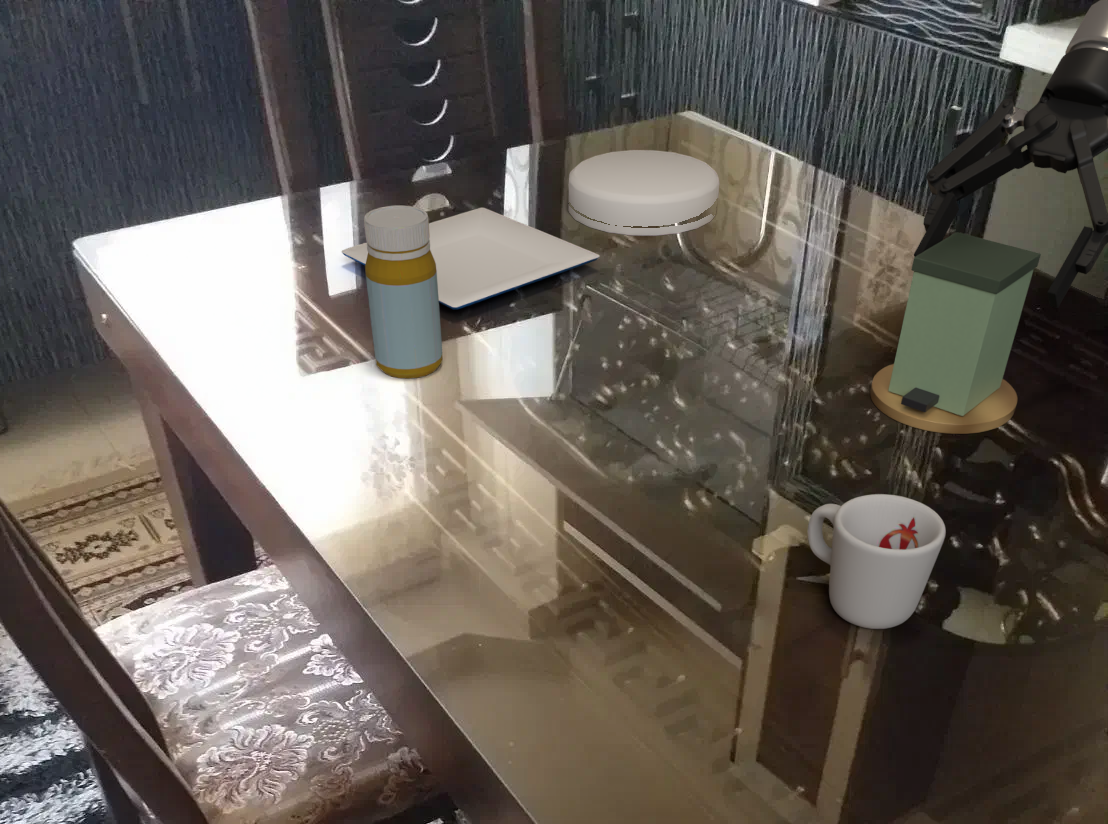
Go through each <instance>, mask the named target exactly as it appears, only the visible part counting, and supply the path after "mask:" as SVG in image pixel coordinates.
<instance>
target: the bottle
mask: <svg viewBox="0 0 1108 824" xmlns="http://www.w3.org/2000/svg"><path fill="white" fill-rule="evenodd" d="M363 223H364V224H363V225H364V234H365V241H366V242H367V251H368V255H367V260H366V264H365V265H364V269H365V273H364V274H365V282H366V290H367V291H366V292H367V300H368V307H369V316H370V327H371V334H372V343H373V351H374V358H375V365H376V366H377V368H378V369H380V370H381V371H382V372H383V373H384V374H385V375H387V376H389V377H393V378H396V379H409V380H410V379H417V378H422V377H426V376H429V375H431V374H433V373H434V372H435V371H436V370H437V369H438V368H439V366H440V365H441V364H442V362H443V340H442V327H441V313H440V303H439V298H438V283H437V270H436V263H435V260H434V258H433V255H432V253H431V251H430V240H429V238H430V233H429V223H430V220H429V216H428V213H427V211H426V210H424V209H422V208H420V207H417V206H412V205H387V206H383V207H382V206H381V207H377V208H374V209H372V210H370V211H368V212H367V213H366V214H365V215H364V218H363Z"/></svg>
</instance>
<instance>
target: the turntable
mask: <svg viewBox="0 0 1108 824" xmlns="http://www.w3.org/2000/svg"><path fill="white" fill-rule="evenodd" d="M893 366H894V363H892V364H889V365H887V366H885V367H882V369H879V371H877V372H876V374H874V376H873V378H872V379H871V380H872V381H871V385H870V389H869V396H870V400H871V401H872V403H873V405H874V406H875V407H876V408H877V409H878V410H879V411H880V412H881V413H882V414H884V415H885V416H887V417H888V418H890V419H892V420H894V421H896V422H898V423H901V424H903V425H905V426H909V427H912V428H915V429H918V430H923V431H926V432H927V431H928V432H933V433H941V434H950V435H951V434H952V435H966V434H977V433H983V432H988V431H991V430H995V429H997V428H999V427H1002V426H1003V425H1006V424H1007V423H1008V422H1009V421H1010V420H1011V419H1012V417H1013V416H1014V414H1015V412H1016V408H1017V404H1018V395H1017V392H1016V390H1015V389H1014V388H1013V386H1012V385H1011V384H1010V383H1009V382H1008V381H1007V380H1006V379H1004V378H1002V382H1001V385H1000V388H998V389H997V390H996V391H994V392H993V393H992V394H991V395H989V396H988V397H987V398H985V399H984V400H983V401H982V402H980V403H979V404H978V405H977V406H975V407H974V408H973V409H971V410H970V411H969V412H968V413H966V414H965V415H964V416H960V415H957V414H954V413H951V412H949V411H946V410H943V409H940V408H937V407H934V406H933V407H932V408H930V409H929V410H928V411H926V412H922V411H920V410H917V409H914V408H911V407H908V406H905V405H902V404H901V401H902V397H903V396H902V395H899V394H896V393H893V392H890V391H888V390H889V385H890V380H891V376H892V371H893Z"/></svg>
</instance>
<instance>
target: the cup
mask: <svg viewBox="0 0 1108 824" xmlns="http://www.w3.org/2000/svg"><path fill="white" fill-rule="evenodd" d="M825 519H827V520H828V521H829V522H830V523H831V525H832V526H833V530H832V543H831V547H830V546H829V545H828V544H827V543H826V541H825V539H824V535H823V526H824V525H823V524H824V521H825ZM946 533H947V532H946V525H945V523H944V520H943V519H942V517H941V516H940V515H939V514H938V512H936V511H935V510H934V509H932V508H931V507H930V506H928V505H926V504H924V503H922V502H920V501H917V500H915V499H912V498H909V497H905V496H901V495H894V494H886V493H885V494H884V493H875V494H874V493H873V494H865V495H861V496H857V497H854V498H851V499H849V500H848V501H846V502H844V503H843V504H842V505H840V504H835V503H826V504H823V505H821V506H818V507H817V508H816V509H815V510H814V511H813V512H812V513H811V515H810V517H809V520H808V524H807V541H808V545H809V548H810V550H811V552H812V553H813V554H814V555H815V556H816V557H817V558H818V559H819V560H821V561H823V562H824V563H825V564H827V565H829V566H830V568H829V580H828V581H829V583H828V595H829V596H828V597H829V601H830V604H831V607H832V608H833V610H834V612H836V615H838V616H839V617H840V618H841V619H843V620H844V621H846V622H848V623H850V624H852V625H854V626H857V627H860V628H863V629H864V628H865V629H869V630H870V629H871V630H886V629H891V628H894V627H897V626H900V625H902V624H904V623H905V622H906V621H908V620H909V618H910V617H912V616H913V614H914V612H915V611H916V609H917V607H918V605H919V603H920V601H921V598H922V596H923V593H924V591H925V589H926V586H927V583H928V581H929V578H930V576H931V573H932V572H933V568H934V566H935V563H936V561H937V559H938V556H939V553H940V551H941V549H942V547H943V544H944V542H945V538H946Z"/></svg>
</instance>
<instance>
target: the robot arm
mask: <svg viewBox="0 0 1108 824" xmlns="http://www.w3.org/2000/svg"><path fill="white" fill-rule="evenodd" d="M1020 127H1023V130H1022V131H1021V132H1019V133H1017V134H1015V135H1014V136H1012V137H1010V139H1008V141H1007V143H1005V144H1004V145H1003V146H1000V147H999V148H998V149H997V148H996V150H994V151H992V150H993V149H994V148H995V147H996V146H997V145H998V144H1000V143H1001V142H1002V141H1003V140H1004V138H1005V137H1006V136H1007V135H1012V134H1014V132H1015V130H1016V129H1018V128H1020ZM1024 147H1026V149H1025V150H1023V148H1024ZM1106 150H1108V0H1092V2H1091V5H1090V6H1089V8H1088V10H1087V12H1086V14H1085V15H1084V17H1083V19H1082V21H1081V22H1080V24H1079V25H1078V27H1077V29H1076V31H1075V33H1074V34H1073V36H1072V38H1071V40H1070V41H1069V43H1068V45H1067V46H1066V49H1065V54H1064V55H1063V56H1061V58H1060V60H1059V62H1058V64H1057V66H1056V67H1055V69H1054V71H1053V73H1052V75H1051V77H1050V78H1049V80H1048V82H1047V83H1046V85H1045V87H1044V89H1043V91H1042V93H1041V95H1040V97H1039V100H1038V101H1037V103H1036V104H1035V105H1034V106H1033V107H1031V108H1030V109H1029V110H1026V109H1024V108H1020V107H1017V106H1015V104H1014V100H1013V99H1011V98H1005V99H1003V100H1002V101H1001V102H1000V103H999V105H998V107H997V108H996V109H995V110H994V113H993V114H992V115H991V117H990V118H989V119H988V120H987V121H985V122H984V123H983V124H982V125H981V126H980V127H978V129H976V130H975V131H974V132H973V133H971V134H970V135H969V136H968V137H967V138H966V139H964V140H963V141H962V142H961V143H959V144H958V146H956V147H955V148H954V149H953V150H952V151H951V152H950V153H948V154H947V155H946V156H945V157H944V158H943V159H941V160H940V161H939V162H938V163H937V164H935V165H934V166H933V167H932V168H931V169H930V170H929V171H928V172H927V173H926V176H925V178H926V181H927V184H928V188H929V189H930V193H931V194H932V195H934V196H935V198H934V199H933V201H932V203H931V205H930V206H929V208H928V210H927V212H926V214H925V215H924V217H923V223H922V225H923V227H924V229H925V232H924V235H923V237H922V238H921V240H920V242H919V244H918V245H917V248H916V249H915V251H914V253H913V258H914V257H916V256H917V255H919V254H921V253H922V252H924V251H926V250H927V249H929V248H931V247H933V246H934V245H936V244H938V243H939V242H941V241H943V240H944V239H945V236H946V234H947V233H948V231H949V229H950V227H951V225H952V224H953V222H954V220H955V218H956V216H957V215H958V213H959V211H960V207H959V204H958V201H960V200H963V199H965V198H966V197H967V196H970V195H972V194H973V193H974V192H976V191H978V190H980V189H982V188H983V187H986V186H987V185H988V184H990V183H992V182H994V181H996V180H997V179H999V178H1001V177H1003V176H1004V175H1007V174H1008V173H1009V172H1012V171H1013V170H1015V169H1016V170H1020V169H1023V168H1024V167H1026V166H1028V165H1030V164H1031V163H1032V164H1033V165H1034V167H1035V168H1040V169H1052V170H1054V171H1056V172H1058V173H1061V174H1067V172H1070V171H1074V170H1077V174H1078V177H1079V182H1080V184H1081V187H1082V191H1083V195H1084V199H1085V202H1086V206H1087V210H1088V213H1089V217H1090V220H1091V225H1092V227H1089V226H1085V225H1084V226H1083V228H1082V230H1081V232H1080V233H1079V235H1078V237H1077V238H1076V240H1075V242H1074V244H1073V246H1072V247H1071V249H1070V251H1069V253H1068V255H1067V256H1066V258H1065V260H1064V261H1063V264H1062V265H1061V267H1060V268H1059V270H1058V272H1057V274H1056V276H1055V278H1054V280H1053V281H1052V283H1051V285H1050V286H1049V288H1048V290H1047V291H1046V293H1047V298H1048V302H1049V303H1048V304H1049V307H1052V308H1054V309H1059V307H1060V306H1061V303H1062V302H1063V300H1064V298H1065V296H1066V295H1067V293H1068V291H1069V290H1070V287H1072V284H1073V283H1074V281H1075V279H1076V277H1077V275H1078V273H1080V274H1084V275H1087V274H1089V273H1090V272H1091V271H1092V269H1093V268H1094V266H1095V264H1096V262H1097V260H1098V259H1099V258H1100V255H1101V253H1102V251H1103V250H1104V248H1105V247H1106V245H1107V244H1108V210H1107V206H1106V202H1105V198H1104V195H1103V191H1102V188H1101V184H1100V180H1099V177H1098V173H1097V169H1096V166H1095V162H1094V158H1095V157H1097V156H1098V155H1100V154H1102V153H1103V152H1104V151H1106ZM990 151H992V152H990Z"/></svg>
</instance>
